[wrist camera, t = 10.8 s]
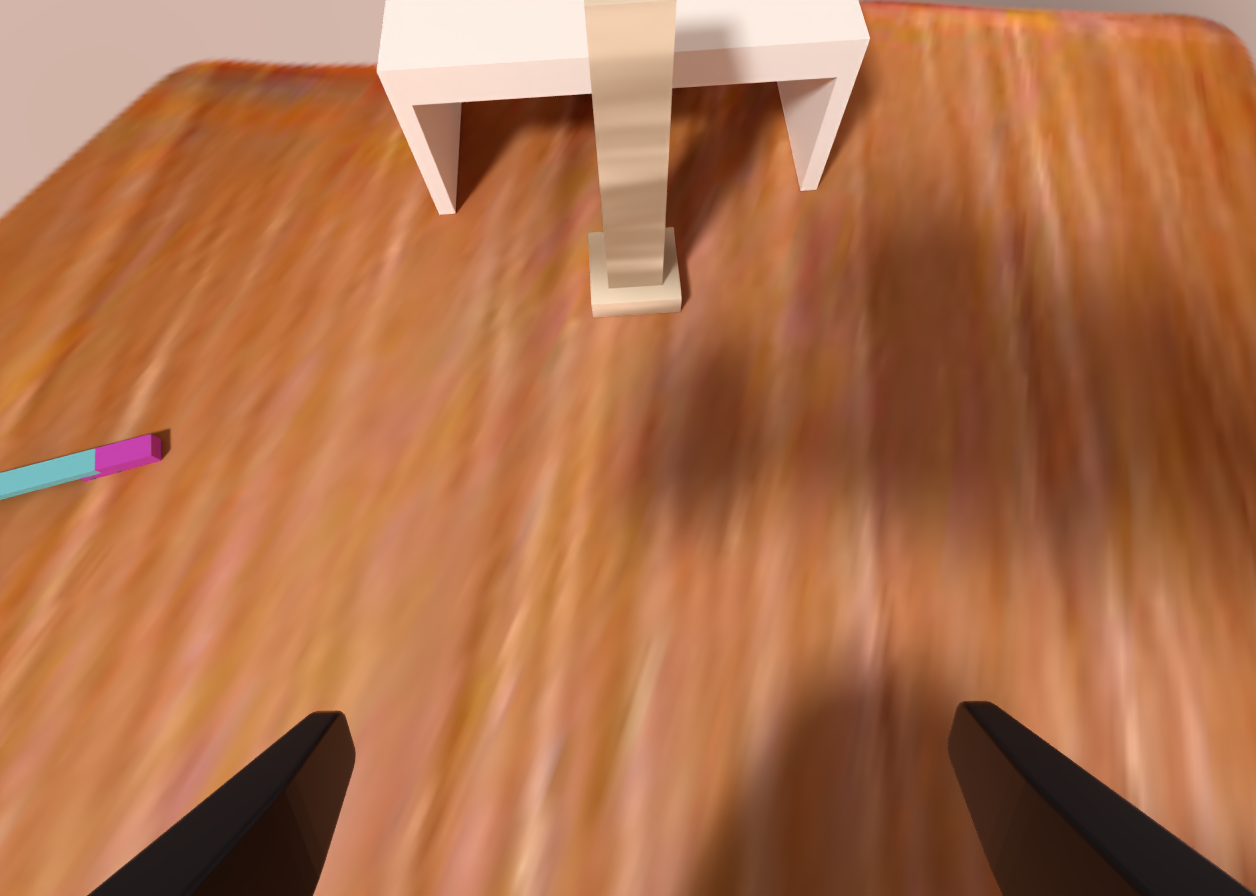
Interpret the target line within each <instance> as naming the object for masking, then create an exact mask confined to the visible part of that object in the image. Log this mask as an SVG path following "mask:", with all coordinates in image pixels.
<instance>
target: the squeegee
mask: <svg viewBox="0 0 1256 896" xmlns="http://www.w3.org/2000/svg"><path fill="white" fill-rule="evenodd" d="M161 460H162V458H161V439H160V438H158V437H156V436H154V435H152V434H149V435H145V436H141V437H137V438H133V439H129V440H126V441H122V442H118V443H114V444H110V445H106V446H103V447H99V448H95V449H91V450H87V451H83V452H79V453H75V454H72V455H68V456H64V457H60V458H56V459H52V460H49V461H45V462H41V463H37V464H33V465H29V466H26V467H22V468H18V469H14V470H10V471H6V472H3V473H0V500H2V499H6V498H9V497H13V496H17V495H21V494H24V493H28V492H32V491H36V490H39V489H43V488H47V487H51V486H55V485H58V484H62V483H66V482H70V481H73V480H77V479H81V480H84V481H89V480H93V479H96V478H100V477H103V476H107V475H111V474H114V473H118V472H122V471H125V470H129V469H132V468H136V467H140V466H143V465H147V464H150V463H154V462H158V461H161Z"/></svg>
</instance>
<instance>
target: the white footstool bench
mask: <svg viewBox="0 0 1256 896" xmlns="http://www.w3.org/2000/svg"><path fill="white" fill-rule="evenodd" d="M869 40H870V37H869V34H868V30H867V27H866V24H865V21H864V17H863V14H862V11H861V8H860V4H859V1H858V0H677V2H676V22H675V42H674V61H673V81H672V88H683V87H698V86H713V85H728V84H743V83H759V82H774V81H777V84H778V89H779V94H780V98H781V103H782V108H783V112H784V117H785V122H786V126H787V131H788V135H789V140H790V145H791V149H792V154H793V159H794V163H795V168H796V173H797V177H798V182H799V186H800V191H804V190H817V187H818V184H819V181H820V178H821V176H822V173H823V170H824V167H825V164H826V161H827V159H828V156H829V153H830V150H831V147H832V145H833V142H834V139H835V136H836V133H837V130H838V128H839V125H840V122H841V119H842V116H843V114H844V111H845V108H846V105H847V102H848V100H849V97H850V94H851V91H852V88H853V85H854V83H855V80H856V77H857V74H858V71H859V69H860V66H861V63H862V60H863V57H864V55H865V52H866V49H867V46H868V43H869ZM377 73H378V75H379V78H380V80H381V82H382V84H383V87H384V89H385V91H386V94H387V96H388V98H389V100H390V103H391V105H392V107H393V110H394V112H395V114H396V116H397V119H398V121H399V123H400V126H401V128H402V130H403V132H404V135H405V137H406V139H407V142H408V144H409V146H410V148H411V151H412V153H413V155H414V158H415V160H416V162H417V164H418V167H419V169H420V171H421V174H422V176H423V178H424V180H425V183H426V185H427V187H428V189H429V192H430V194H431V196H432V199H433V201H434V203H435V205H436V208H437V210H438V212H439V215H441V214H456V196H457V178H458V159H459V140H460V122H461V103H462V102H470V101H486V100H501V99H516V98H531V97H546V96H561V95H577V94H592V90H591V79H590V67H589V55H588V44H587V32H586V21H585V9H584V0H386V3H385V11H384V19H383V26H382V34H381V43H380V50H379V58H378V65H377Z"/></svg>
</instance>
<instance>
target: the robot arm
mask: <svg viewBox="0 0 1256 896" xmlns="http://www.w3.org/2000/svg"><path fill="white" fill-rule="evenodd" d="M948 753H949V757H950V760H951V763H952V766H953V768H954V771H955V774H956V776H957V779H958V782H959V785H960V787H961V790H962V793H963V795H964V798H965V801H966V803H967V806H968V809H969V812H970V814H971V817H972V820H973V822H974V825H975V828H976V830H977V833H978V836H979V839H980V841H981V844H982V847H983V849H984V852H985V855H986V857H987V860H988V862H989V865H990V867H991V870H992V872H993V875H994V877H995V879H996V881H997V883H998V886H999V888H1000V890H1001V892H1002V894H1003V896H1256V894H1254V893H1253V892H1252V891H1250V890H1249V889H1248V888H1246V887H1245V886H1243V885H1242V884H1241V883H1239V882H1238V881H1237V880H1235V879H1234V878H1232V877H1231V876H1230V875H1228V874H1227V873H1226V872H1224V871H1223V870H1222V869H1220V868H1219V867H1217V866H1216V865H1215V864H1213V863H1212V862H1211V861H1209V860H1208V859H1206V858H1205V857H1204V856H1202V855H1201V854H1200V853H1198V852H1197V851H1195V850H1194V849H1193V848H1191V847H1190V846H1189V845H1187V844H1186V843H1184V842H1183V841H1182V840H1180V839H1179V838H1178V837H1176V836H1175V835H1173V834H1172V833H1171V832H1169V831H1168V830H1167V829H1165V828H1164V827H1162V826H1161V825H1160V824H1158V823H1157V822H1156V821H1154V820H1153V819H1152V818H1150V817H1149V816H1147V815H1146V814H1145V813H1143V812H1142V811H1141V810H1139V809H1138V808H1136V807H1135V806H1134V805H1132V804H1131V803H1130V802H1128V801H1127V800H1125V799H1124V798H1123V797H1121V796H1120V795H1119V794H1117V793H1116V792H1114V791H1113V790H1112V789H1110V788H1109V787H1108V786H1106V785H1105V784H1103V783H1102V782H1101V781H1099V780H1098V779H1097V778H1095V777H1094V776H1092V775H1091V774H1090V773H1088V772H1087V771H1086V770H1084V769H1083V768H1082V767H1080V766H1079V765H1077V764H1076V763H1075V762H1073V761H1072V760H1071V759H1069V758H1068V757H1066V756H1065V755H1064V754H1062V753H1061V752H1060V751H1058V750H1057V749H1055V748H1054V747H1053V746H1051V745H1050V744H1049V743H1047V742H1046V741H1044V740H1043V739H1042V738H1040V737H1039V736H1038V735H1036V734H1035V733H1033V732H1032V731H1031V730H1029V729H1028V728H1027V727H1025V726H1024V725H1022V724H1021V723H1020V722H1018V721H1017V720H1016V719H1014V718H1013V717H1012V716H1010V715H1009V714H1007V713H1006V712H1005V711H1003V710H1002V709H1001V708H999V707H998V706H996V705H995V704H993V703H991V702H988V701H964V702H961V703H960V704H959V705H958V706H957V708H956V712H955V716H954V719H953V723H952V727H951V731H950V735H949V738H948ZM355 756H356V754H355V747H354V743H353V740H352V737H351V733H350V730H349V726H348V723H347V720H346V717H345V715H344V714H343V713H342V712H341V711H316V712H313V713H311V714H309V715H308V716H307V717H305V718H304V719H303V720H302V721H300V722H299V723H298V724H297V725H296V726H294V727H293V728H292V729H291V730H289V731H288V732H287V733H286V734H285V735H283V736H282V737H281V738H280V739H278V740H277V741H276V742H275V743H274V744H272V745H271V746H270V747H269V748H267V749H266V750H265V751H264V752H263V753H261V754H260V755H259V756H258V757H256V758H255V759H254V760H253V761H252V762H250V763H249V764H248V765H247V766H245V767H244V768H243V769H242V770H240V771H239V772H238V773H237V774H236V775H234V776H233V777H232V778H231V779H229V780H228V781H227V782H226V783H225V784H223V785H222V786H221V787H220V788H218V789H217V790H216V791H215V792H214V793H212V794H211V795H210V796H209V797H207V798H206V799H205V800H204V801H203V802H201V803H200V804H199V805H198V806H196V807H195V808H194V809H193V810H191V811H190V812H189V813H188V814H187V815H185V816H184V817H183V818H182V819H180V820H179V821H178V822H177V823H176V824H174V825H173V826H172V827H171V828H169V829H168V830H167V831H166V832H165V833H163V834H162V835H161V836H160V837H158V838H157V839H156V840H155V841H154V842H152V843H151V844H150V845H149V846H147V847H146V848H145V849H144V850H143V851H141V852H140V853H139V854H138V855H136V856H135V857H134V858H133V859H131V860H130V861H129V862H128V863H127V864H125V865H124V866H123V867H122V868H120V869H119V870H118V871H117V872H116V873H114V874H113V875H112V876H111V877H109V878H108V879H107V880H106V881H105V882H103V883H102V884H101V885H100V886H98V887H97V888H96V889H95V890H94V891H92V892H91V893H90V894H89V895H87V896H313V894H314V892H315V889H316V886H317V884H318V881H319V878H320V875H321V872H322V869H323V866H324V863H325V860H326V857H327V854H328V850H329V847H330V844H331V841H332V837H333V834H334V831H335V828H336V824H337V821H338V818H339V814H340V811H341V808H342V805H343V801H344V798H345V795H346V791H347V788H348V785H349V782H350V778H351V775H352V772H353V768H354V764H355Z"/></svg>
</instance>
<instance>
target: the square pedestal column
mask: <svg viewBox="0 0 1256 896" xmlns="http://www.w3.org/2000/svg"><path fill="white" fill-rule="evenodd" d="M676 2H677V0H584V9H585V21H586V32H587V44H588V55H589V67H590V79H591V90H592V102H593V113H594V125H595V136H596V148H597V160H598V171H599V183H600V194H601V206H602V217H603V229H604V232H589V233H588V241H589V262H590V283H591V305H592V312H593V318H596V317H611V316H626V315H641V314H657V313H672V312H680V311H681V301H682V297H681V288H680V279H679V270H678V261H677V252H676V244H675V235H674V227H666V228H665V220H666V200H667V180H668V160H669V141H670V121H671V101H672V81H673V61H674V42H675V22H676Z"/></svg>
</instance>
